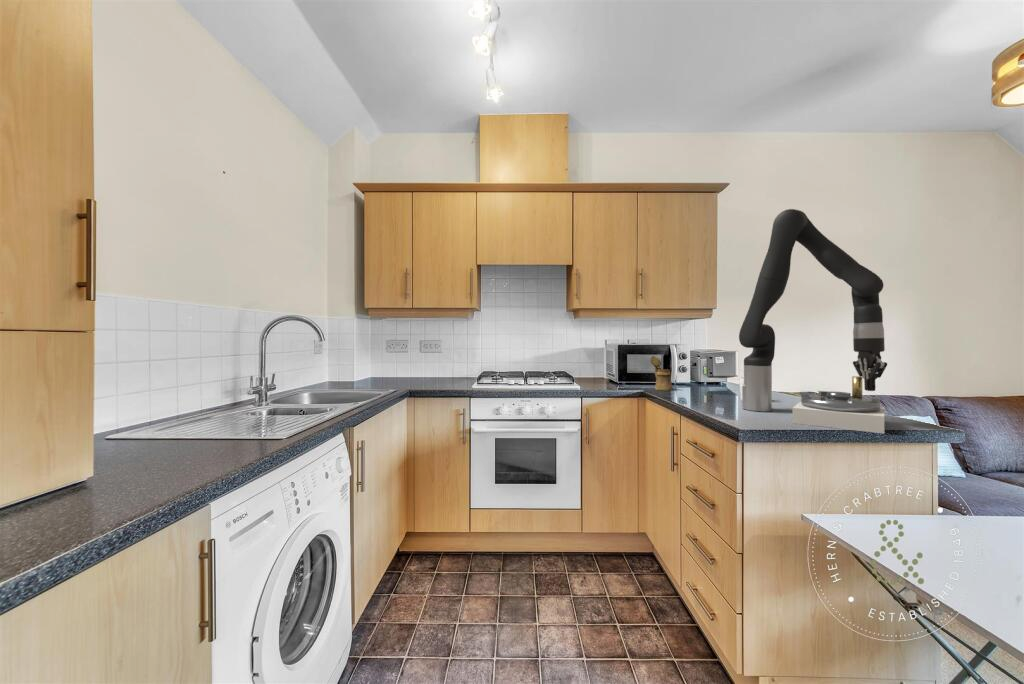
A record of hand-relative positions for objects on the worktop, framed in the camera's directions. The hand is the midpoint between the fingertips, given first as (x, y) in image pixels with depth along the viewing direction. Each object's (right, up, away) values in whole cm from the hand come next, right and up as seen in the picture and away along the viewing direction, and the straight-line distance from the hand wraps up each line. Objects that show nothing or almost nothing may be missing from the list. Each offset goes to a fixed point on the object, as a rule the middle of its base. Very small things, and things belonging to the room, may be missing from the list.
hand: (869, 390), depth 129 cm
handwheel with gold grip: (-9, -5, +2) cm, 10 cm away
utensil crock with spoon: (-35, -10, +88) cm, 95 cm away
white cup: (-10, -11, +49) cm, 51 cm away
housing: (-9, -11, +2) cm, 14 cm away
